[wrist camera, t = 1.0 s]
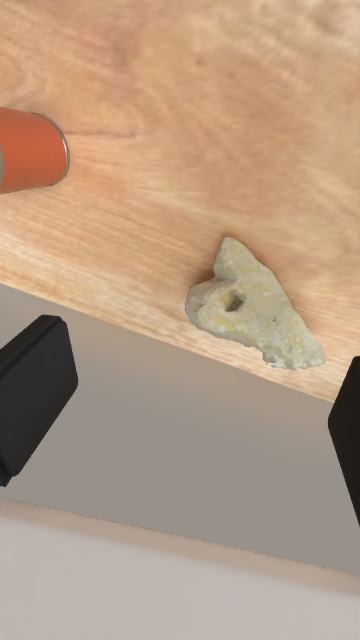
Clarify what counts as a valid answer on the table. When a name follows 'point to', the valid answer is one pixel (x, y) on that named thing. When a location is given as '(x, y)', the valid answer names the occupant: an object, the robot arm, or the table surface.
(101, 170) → the table surface
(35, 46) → the table surface
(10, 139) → the tin can
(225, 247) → the holed limestone rock
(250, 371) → the table surface
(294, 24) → the table surface
